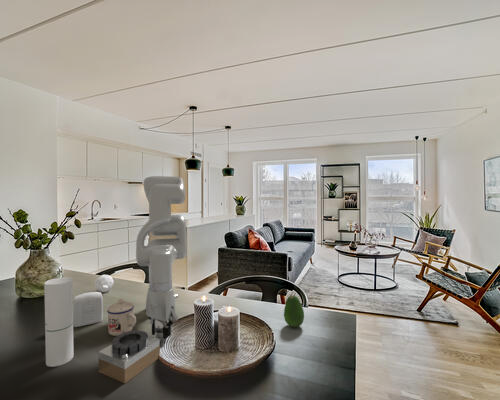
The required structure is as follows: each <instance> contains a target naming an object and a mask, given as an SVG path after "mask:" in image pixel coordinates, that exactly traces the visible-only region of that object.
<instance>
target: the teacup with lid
mask: <svg viewBox="0 0 500 400" xmlns="http://www.w3.org/2000/svg"><path fill="white" fill-rule="evenodd" d="M134 307H135V305H134V304H133V303H132V302H129V301H125V300H124V299H122V298H120V299H118V300H117V302H116V303H114V304H110V306H109V307H107V310H106V312H107V315H108V316H107V331H108V332H107V333H108V334H109V335H110V336H115V337H116V336H118V335H120V334H124V332H128V331H131V332H132V331H133V329H134V326H136V323H137V317H136V315H135V314H134Z"/></svg>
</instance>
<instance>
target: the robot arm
mask: <svg viewBox="0 0 500 400" xmlns="http://www.w3.org/2000/svg"><path fill="white" fill-rule="evenodd" d="M184 183H185V182H184V180H183V178H182V177H180V176H164V175H156V176H155V175H154V176H148V177H145V178H144V180H143V185H142V186H143V191H144V194H145V197H146V200H147V202H148V205H149V206H148V220H147V222H146V223H145V224H144V225H143V226H142V227H141V228H140V230H139V232H138V234H137V236H136V243H135V244H136V245H135V247H136V248H135V250H136V251H135V261H136V263H137V265H138V266H140V267H148V289H147V294H146V299H145V300H146V301H145V312H144V313H145V314H146V316H147V317H148V319H149V321H150V324H151V335H152V336H155V319H158V320H161V321H163V322H164V328H163V339H165V340H166V339H167V338H169V337H171V335H172V325H173V324H174V323H176V322H178V321H179V318H178V315H177V314H176V299H177V298H178V297H179V295H178V294H177V293H175V292H174V289H173V264H174V262H175V260H182V259H185V258H186V257H187V255H188V237H187V236H188V235H187V233H188V231H187V221H186V218H185V216H183V215H182V214H172V205H181V204H183V203H185V200H186V187H185V184H184ZM149 234H151V235H153V236H155V237H164V236H166V237H167V236H170V237H171V236H175V238H173V237H172V238H156V239H152V240H149V242H147V245H145V240H146V237H147V236H148V235H149ZM167 320H168V323H167Z"/></svg>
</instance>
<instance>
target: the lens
mask: <svg viewBox="0 0 500 400" xmlns="http://www.w3.org/2000/svg"><path fill="white" fill-rule="evenodd" d="M168 322H169V321H168V320H167V323H168ZM163 328H164V322H163V321H161V320H158V319H155V335H154V338H157V339H160V342H161V341H165V340H166V339H163Z"/></svg>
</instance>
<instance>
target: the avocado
mask: <svg viewBox="0 0 500 400" xmlns="http://www.w3.org/2000/svg"><path fill="white" fill-rule="evenodd" d="M283 317H284V321H285V323H286V324H287V325H288V326H289V327H291V328H298V327H301V325H303V323H304V320H305V319H304V318H305V310H304V308H303V305H302V303H301V301H300V299H299V297H298V296H295V295H290V296H288V297H287V299H286V303H285V306H284V309H283Z"/></svg>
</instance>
